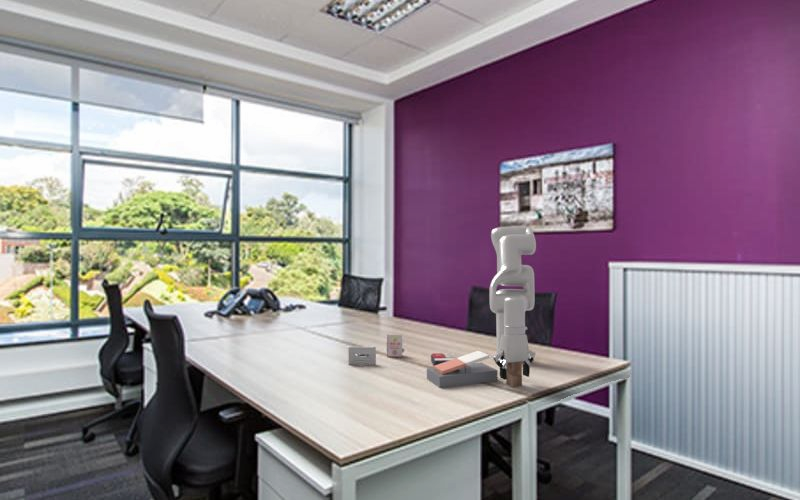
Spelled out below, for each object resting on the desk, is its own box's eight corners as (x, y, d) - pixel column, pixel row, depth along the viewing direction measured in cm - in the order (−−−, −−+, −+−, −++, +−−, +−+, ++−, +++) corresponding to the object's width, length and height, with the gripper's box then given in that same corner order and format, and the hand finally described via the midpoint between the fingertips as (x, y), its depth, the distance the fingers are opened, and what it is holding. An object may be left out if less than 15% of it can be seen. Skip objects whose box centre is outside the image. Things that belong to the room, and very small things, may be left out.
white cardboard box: (388, 355, 213) (388, 333, 213) (402, 355, 213) (402, 334, 212) (387, 356, 210) (386, 335, 210) (401, 357, 209) (401, 335, 209)
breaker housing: (481, 372, 182) (481, 357, 182) (497, 380, 171) (497, 364, 171) (426, 378, 174) (426, 362, 174) (439, 387, 163) (439, 370, 163)
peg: (515, 383, 168) (515, 358, 168) (521, 386, 164) (521, 361, 164) (506, 384, 167) (506, 359, 166) (512, 387, 163) (512, 362, 163)
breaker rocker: (479, 355, 180) (478, 350, 180) (490, 360, 172) (489, 355, 172) (434, 370, 173) (433, 365, 173) (443, 376, 165) (442, 371, 165)
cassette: (348, 365, 196) (348, 347, 196) (349, 363, 198) (348, 346, 198) (375, 365, 195) (375, 347, 195) (376, 364, 197) (376, 346, 197)
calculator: (455, 352, 203) (460, 359, 188) (455, 362, 203) (460, 369, 188) (430, 352, 203) (434, 359, 188) (431, 362, 203) (434, 369, 188)
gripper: (528, 327, 172) (528, 372, 172) (488, 330, 166) (488, 376, 166) (540, 330, 164) (541, 377, 165) (499, 334, 159) (499, 382, 159)
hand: (514, 377), depth 165 cm, fingers open, 9 cm apart
